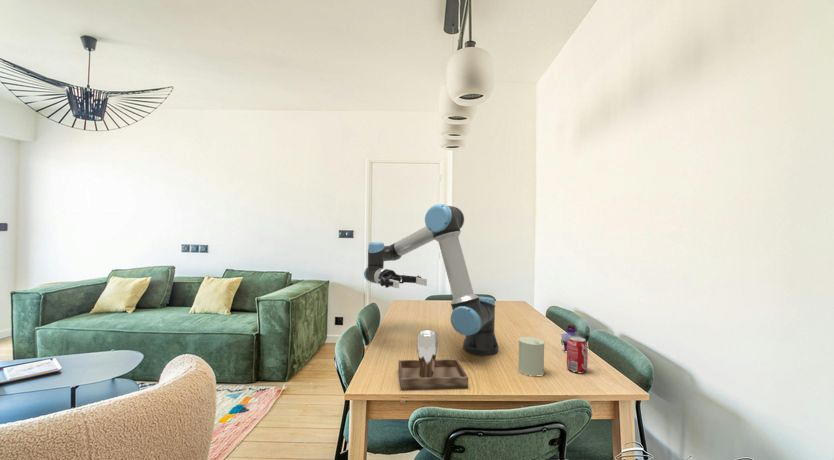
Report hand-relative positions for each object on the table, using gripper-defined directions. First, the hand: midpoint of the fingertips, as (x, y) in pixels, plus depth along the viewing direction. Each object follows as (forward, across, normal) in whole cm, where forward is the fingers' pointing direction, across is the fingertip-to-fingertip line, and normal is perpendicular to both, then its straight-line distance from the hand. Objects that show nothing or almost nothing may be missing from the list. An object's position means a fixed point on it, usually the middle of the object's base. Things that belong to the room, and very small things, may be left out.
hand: (412, 283), depth 134 cm
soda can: (+44, -46, -30) cm, 70 cm away
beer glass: (+19, +7, -29) cm, 35 cm away
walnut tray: (+19, +5, -30) cm, 36 cm away
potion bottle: (+32, -63, -30) cm, 77 cm away
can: (+35, -30, -30) cm, 55 cm away
